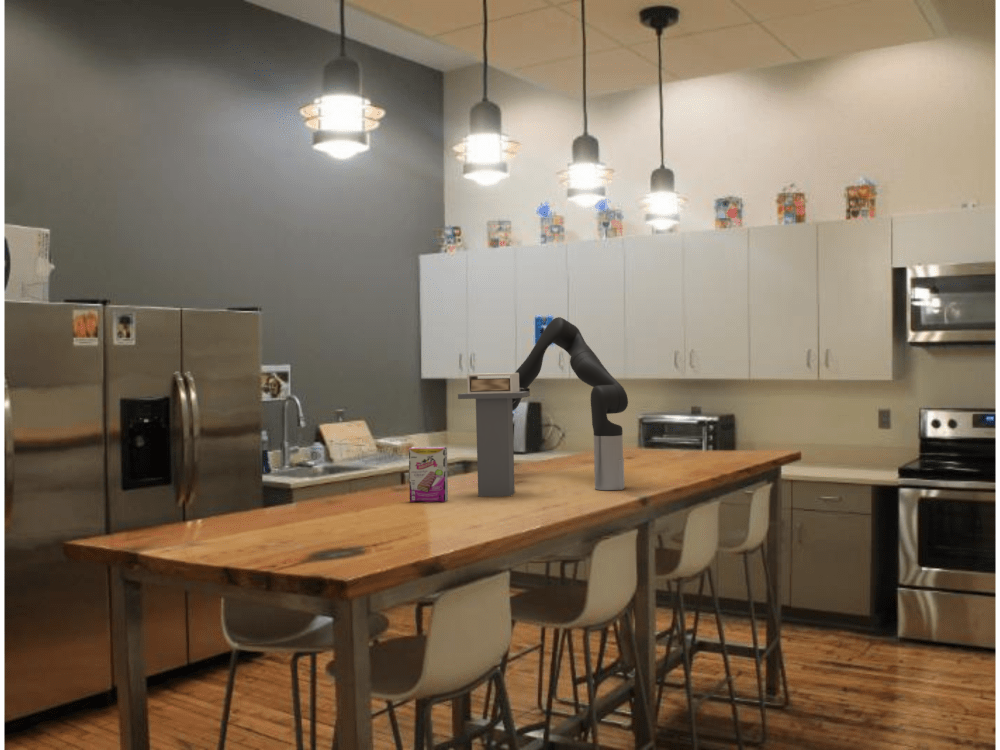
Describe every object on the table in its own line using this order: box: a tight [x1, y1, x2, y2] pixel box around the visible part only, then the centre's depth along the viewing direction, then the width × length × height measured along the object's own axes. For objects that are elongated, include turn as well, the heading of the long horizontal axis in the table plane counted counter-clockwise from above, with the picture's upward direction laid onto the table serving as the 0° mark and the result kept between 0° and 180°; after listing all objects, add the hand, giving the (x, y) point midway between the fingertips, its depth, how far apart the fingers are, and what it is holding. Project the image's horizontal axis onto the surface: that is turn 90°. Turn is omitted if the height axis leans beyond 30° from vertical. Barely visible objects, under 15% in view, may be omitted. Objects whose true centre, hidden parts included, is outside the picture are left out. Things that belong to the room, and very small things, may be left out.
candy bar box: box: [408, 446, 449, 503], centre depth 298 cm, size 11×5×16 cm, turn 84°
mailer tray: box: [471, 377, 510, 391], centre depth 313 cm, size 12×22×3 cm, turn 169°
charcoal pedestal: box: [457, 391, 530, 498], centre depth 308 cm, size 20×13×32 cm, turn 79°
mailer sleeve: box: [466, 372, 519, 394], centre depth 308 cm, size 14×12×6 cm
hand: (508, 390), depth 325 cm, fingers open, 8 cm apart
